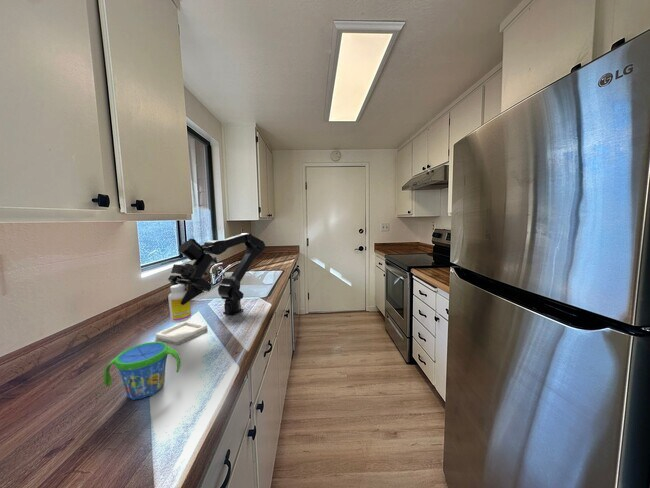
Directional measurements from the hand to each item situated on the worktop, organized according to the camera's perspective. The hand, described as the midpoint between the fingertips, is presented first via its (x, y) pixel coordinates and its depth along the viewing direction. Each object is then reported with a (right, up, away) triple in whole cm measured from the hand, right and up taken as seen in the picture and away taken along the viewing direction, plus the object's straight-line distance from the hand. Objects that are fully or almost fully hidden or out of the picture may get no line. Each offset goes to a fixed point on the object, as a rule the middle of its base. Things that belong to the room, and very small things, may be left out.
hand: (175, 303), depth 91 cm
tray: (+1, -12, +2) cm, 12 cm away
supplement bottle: (+1, -7, +2) cm, 7 cm away
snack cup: (+10, -15, -28) cm, 33 cm away
